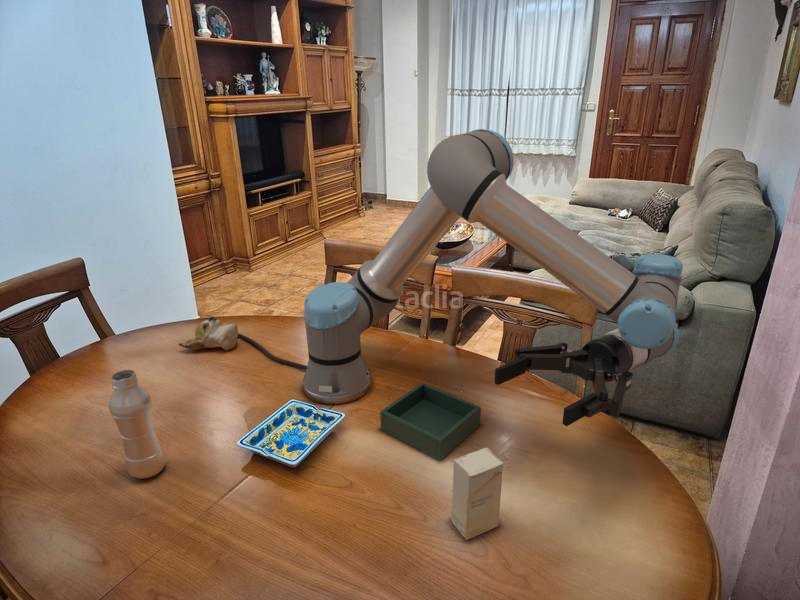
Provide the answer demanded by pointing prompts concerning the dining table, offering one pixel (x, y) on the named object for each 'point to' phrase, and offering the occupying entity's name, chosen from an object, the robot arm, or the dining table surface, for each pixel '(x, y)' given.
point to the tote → (430, 420)
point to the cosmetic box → (476, 492)
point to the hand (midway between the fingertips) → (528, 395)
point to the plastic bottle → (136, 426)
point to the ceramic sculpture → (213, 335)
